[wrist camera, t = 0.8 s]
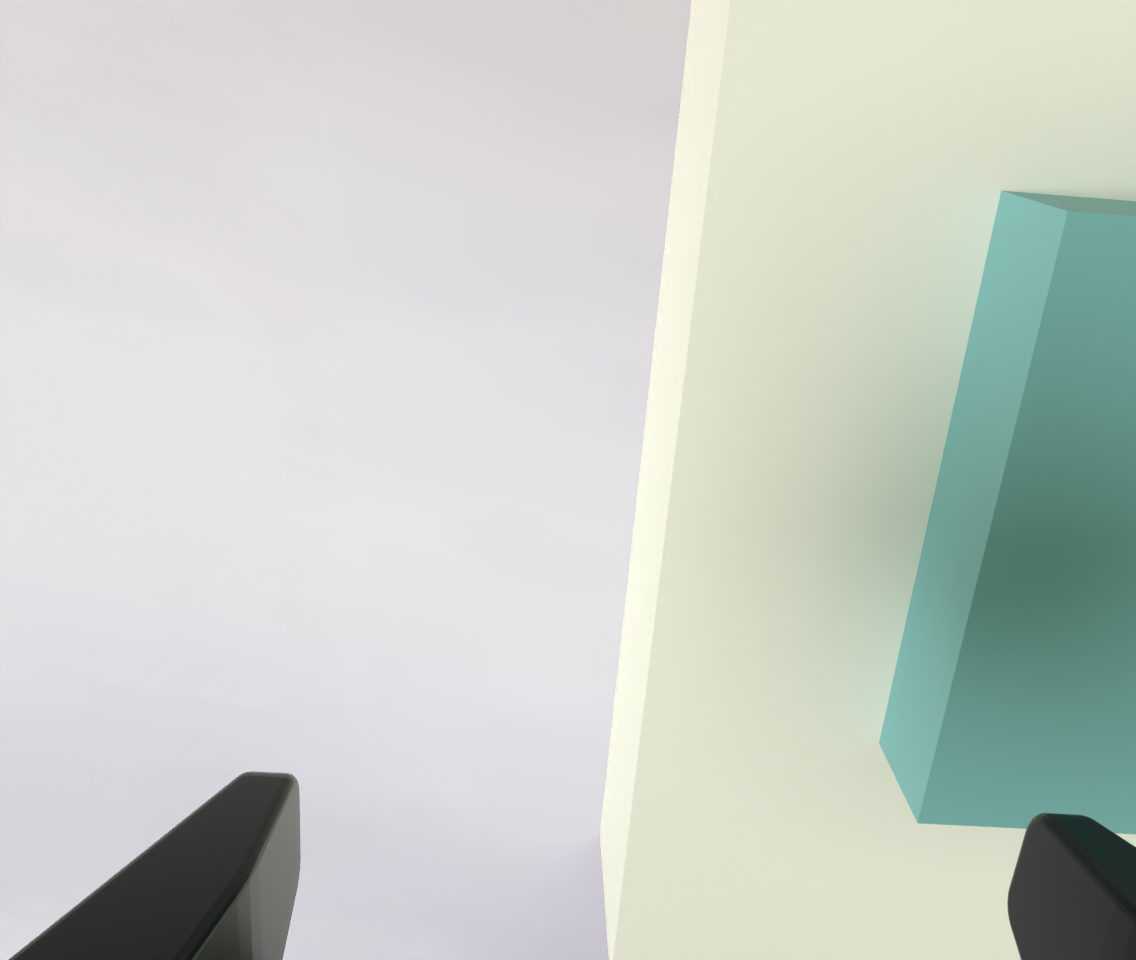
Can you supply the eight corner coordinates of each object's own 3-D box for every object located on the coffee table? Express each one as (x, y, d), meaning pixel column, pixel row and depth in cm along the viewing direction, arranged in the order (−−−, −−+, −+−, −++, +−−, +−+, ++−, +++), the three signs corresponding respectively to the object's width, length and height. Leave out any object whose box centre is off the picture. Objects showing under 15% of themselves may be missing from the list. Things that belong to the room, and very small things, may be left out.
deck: (1132, 859, 24) (1239, 1007, 20) (599, 833, 23) (610, 981, 20) (1482, -164, 17) (1753, -226, 13) (718, -240, 16) (770, -325, 12)
